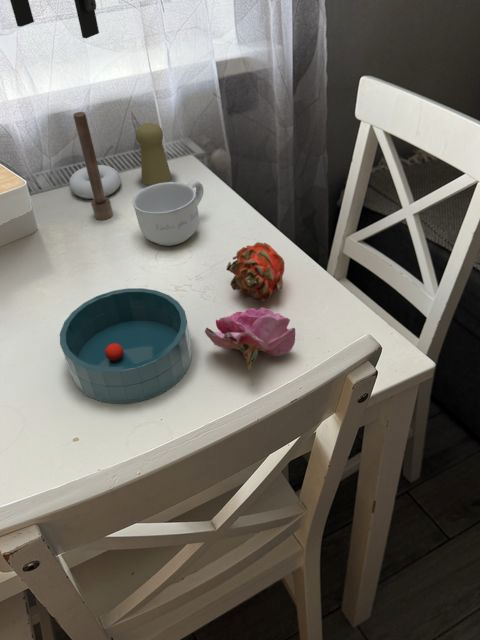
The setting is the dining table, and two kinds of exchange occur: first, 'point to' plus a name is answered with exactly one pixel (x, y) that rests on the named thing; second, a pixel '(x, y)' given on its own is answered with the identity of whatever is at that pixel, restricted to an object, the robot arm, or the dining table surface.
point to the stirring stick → (92, 169)
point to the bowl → (127, 345)
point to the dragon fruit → (257, 271)
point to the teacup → (168, 211)
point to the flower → (254, 333)
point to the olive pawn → (152, 155)
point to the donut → (83, 186)
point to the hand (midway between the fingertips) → (57, 30)
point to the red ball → (114, 352)
